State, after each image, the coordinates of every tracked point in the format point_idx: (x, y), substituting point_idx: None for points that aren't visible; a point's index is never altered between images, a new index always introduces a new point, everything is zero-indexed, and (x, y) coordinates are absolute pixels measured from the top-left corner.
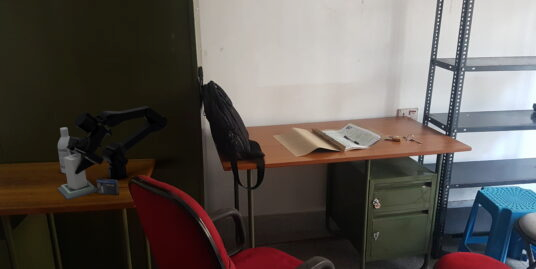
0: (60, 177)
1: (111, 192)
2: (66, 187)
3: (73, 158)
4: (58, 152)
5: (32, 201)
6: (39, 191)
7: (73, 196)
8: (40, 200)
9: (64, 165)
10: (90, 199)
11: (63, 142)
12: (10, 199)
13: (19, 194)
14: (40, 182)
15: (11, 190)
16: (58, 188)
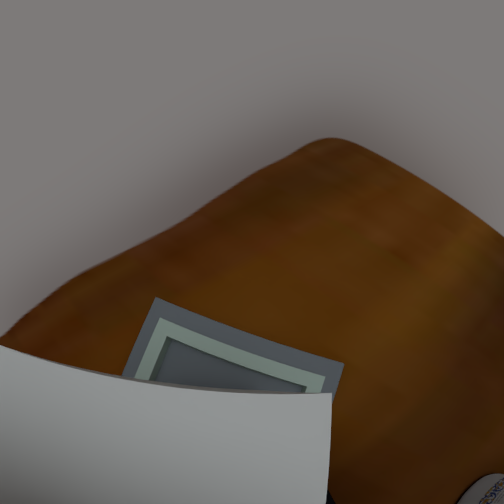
0: (460, 452)
1: None
2: None
3: (35, 457)
4: None
5: (312, 206)
6: (397, 291)
7: (140, 332)
8: (289, 229)
9: (501, 492)
10: (59, 361)
11: None
12: (401, 182)
13: (425, 225)
14: (480, 353)
15: (475, 234)
16: (330, 361)
